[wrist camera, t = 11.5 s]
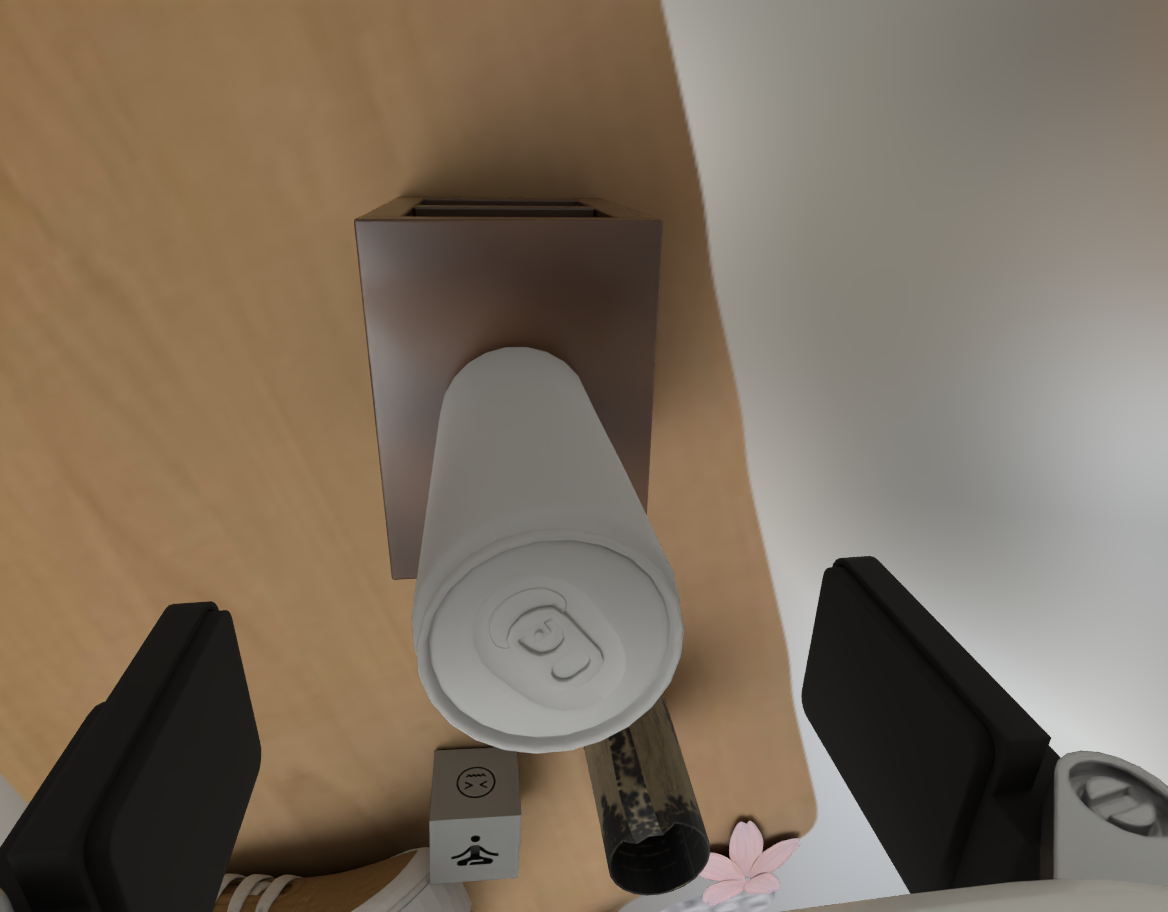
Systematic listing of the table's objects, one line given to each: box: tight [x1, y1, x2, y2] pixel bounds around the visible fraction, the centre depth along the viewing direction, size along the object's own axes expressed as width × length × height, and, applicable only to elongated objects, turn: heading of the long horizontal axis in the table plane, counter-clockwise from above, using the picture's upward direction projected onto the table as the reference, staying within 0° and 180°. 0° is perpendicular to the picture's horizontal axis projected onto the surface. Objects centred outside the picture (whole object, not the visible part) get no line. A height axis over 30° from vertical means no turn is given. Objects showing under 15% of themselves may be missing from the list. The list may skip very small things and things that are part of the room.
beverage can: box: [412, 347, 684, 754], centre depth 17 cm, size 5×5×12 cm
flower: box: [699, 821, 800, 906], centre depth 50 cm, size 10×10×2 cm
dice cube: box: [429, 748, 521, 884], centre depth 42 cm, size 5×5×5 cm
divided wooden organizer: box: [354, 197, 663, 580], centre depth 28 cm, size 12×9×12 cm
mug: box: [584, 693, 710, 895], centre depth 38 cm, size 8×6×12 cm
